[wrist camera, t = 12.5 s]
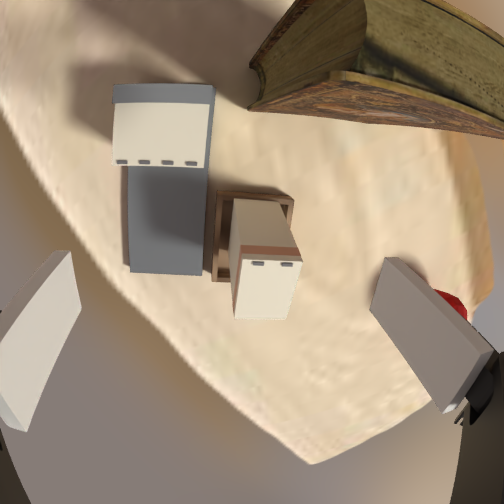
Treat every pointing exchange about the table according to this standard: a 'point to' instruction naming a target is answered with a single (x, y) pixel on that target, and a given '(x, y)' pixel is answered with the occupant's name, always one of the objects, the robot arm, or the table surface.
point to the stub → (262, 260)
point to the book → (384, 65)
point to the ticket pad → (160, 124)
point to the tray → (224, 225)
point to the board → (168, 215)
